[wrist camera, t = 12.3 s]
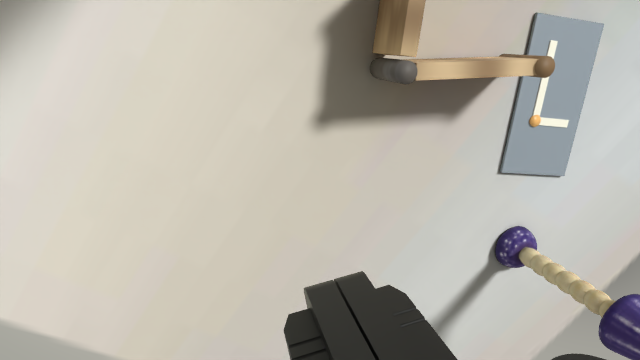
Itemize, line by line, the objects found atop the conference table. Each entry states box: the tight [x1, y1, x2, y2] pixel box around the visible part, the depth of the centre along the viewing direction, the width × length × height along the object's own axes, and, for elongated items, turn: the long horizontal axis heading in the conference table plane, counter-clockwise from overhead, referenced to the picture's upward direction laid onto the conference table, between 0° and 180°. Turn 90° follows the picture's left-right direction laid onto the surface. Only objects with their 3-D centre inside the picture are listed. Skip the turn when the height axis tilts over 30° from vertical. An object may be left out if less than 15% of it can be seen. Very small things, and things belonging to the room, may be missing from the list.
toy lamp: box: [495, 226, 640, 360], centre depth 38 cm, size 5×5×17 cm
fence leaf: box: [370, 54, 555, 84], centre depth 36 cm, size 13×2×5 cm, turn 91°
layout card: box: [500, 13, 604, 176], centre depth 42 cm, size 14×7×1 cm, turn 173°
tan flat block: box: [372, 0, 426, 57], centre depth 33 cm, size 7×2×6 cm, turn 173°
